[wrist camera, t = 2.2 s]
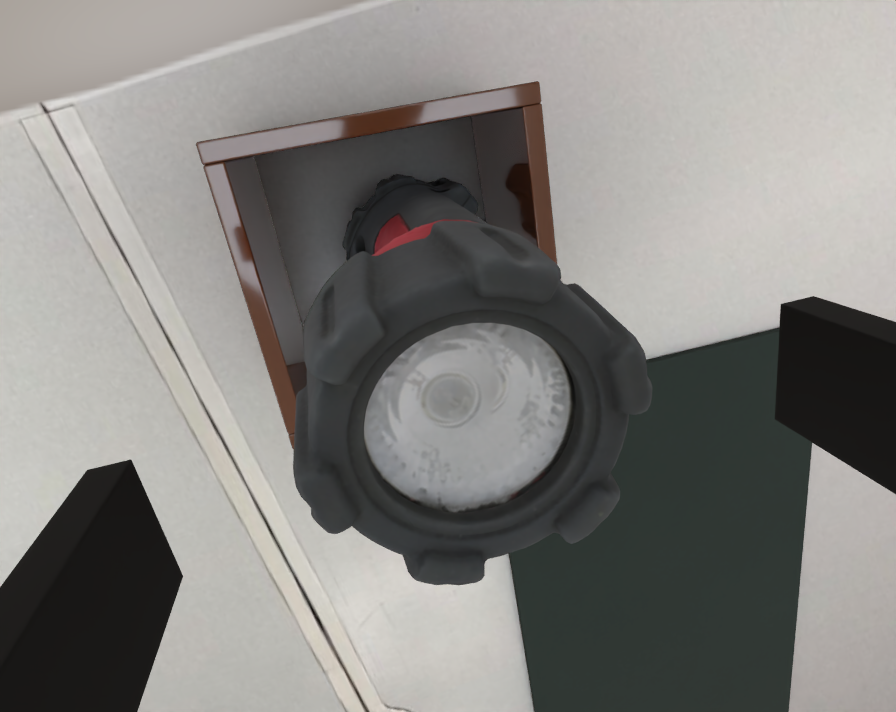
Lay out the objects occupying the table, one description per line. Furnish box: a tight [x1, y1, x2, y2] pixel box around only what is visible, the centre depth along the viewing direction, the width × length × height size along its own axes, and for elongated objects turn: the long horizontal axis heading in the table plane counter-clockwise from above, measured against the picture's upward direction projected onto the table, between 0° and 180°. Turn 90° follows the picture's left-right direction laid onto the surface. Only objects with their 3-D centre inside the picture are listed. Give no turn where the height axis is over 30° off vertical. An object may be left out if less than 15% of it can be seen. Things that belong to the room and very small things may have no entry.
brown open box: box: [196, 81, 557, 449], centre depth 28 cm, size 13×13×9 cm
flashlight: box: [293, 174, 652, 585], centre depth 22 cm, size 8×8×23 cm
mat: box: [509, 328, 812, 712], centre depth 45 cm, size 24×40×1 cm, turn 10°
